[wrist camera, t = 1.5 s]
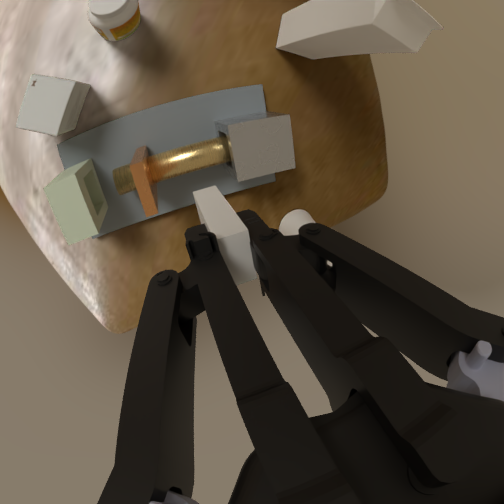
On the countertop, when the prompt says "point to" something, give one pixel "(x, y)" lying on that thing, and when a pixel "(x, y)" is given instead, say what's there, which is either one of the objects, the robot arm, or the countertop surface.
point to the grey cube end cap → (257, 144)
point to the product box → (51, 105)
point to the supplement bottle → (114, 18)
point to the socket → (77, 201)
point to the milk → (354, 28)
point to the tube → (167, 168)
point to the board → (162, 150)
